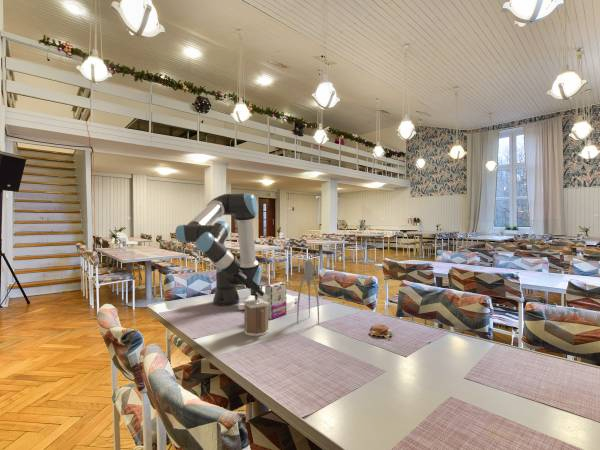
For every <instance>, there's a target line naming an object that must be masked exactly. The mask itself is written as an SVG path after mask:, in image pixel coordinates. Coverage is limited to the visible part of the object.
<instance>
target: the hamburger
mask: <svg viewBox="0 0 600 450" xmlns="http://www.w3.org/2000/svg"><path fill="white" fill-rule="evenodd" d="M369 331H370V332H369V333H370V335H371V337H372V336H374V335H375V337H378V336H380V338H381V337H382V336H384V337H382V338H387V337H388V338H390V336H391V335H393V334H394V333H392V332H393V331H392V330H391V328H390V327H388V326H387V325H385V324H383V323H382V324H375V325H372V326H371V327H370V328H369ZM391 331H392V332H391ZM388 341H390V339H388Z"/></svg>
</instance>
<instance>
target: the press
mask: <svg viewBox="0 0 600 450" xmlns="http://www.w3.org/2000/svg"><path fill="white" fill-rule="evenodd" d="M242 303H244V304H245V305H244V309H243V310H244V311H243V312H244V315H243V316H244V317H243V318H244V322H243V323H244V325H243V327H244V329H243V331H244V332H243V333H244V335H246V336H249V337H261V336H264V335H267V334H268V333H269V319H268V306H269V305H270V303H269V302H267V301H266V302H264V301H263V300H262V299H258V303H255V300H248V301H245V300H243V302H242Z"/></svg>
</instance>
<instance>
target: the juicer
mask: <svg viewBox="0 0 600 450" xmlns="http://www.w3.org/2000/svg"><path fill="white" fill-rule="evenodd" d="M303 268H304V269H303V271H304V276H301V280H300V285H299V290H298V295H297V297H298V302H297V308H296V315H297V316H296V323H297V324H299V311H300V299H301V291H302V288H303V285H304V281H305V282H306V286H307V288H308V289H307V290H308V294H307V295H308V318H309V319H310V316H311V315H310V314H311V285H312V284H311V283H312V281H313V286H314V289H315V297H316V306H317V324H320V305H319V304H320V302H319V293H318V286H317V282H316V277H315V276H313V274H314V273H313V272H314V262H313V261H312V260H311V259H309V258H308V259H306V260H305V262H304V267H303Z"/></svg>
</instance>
